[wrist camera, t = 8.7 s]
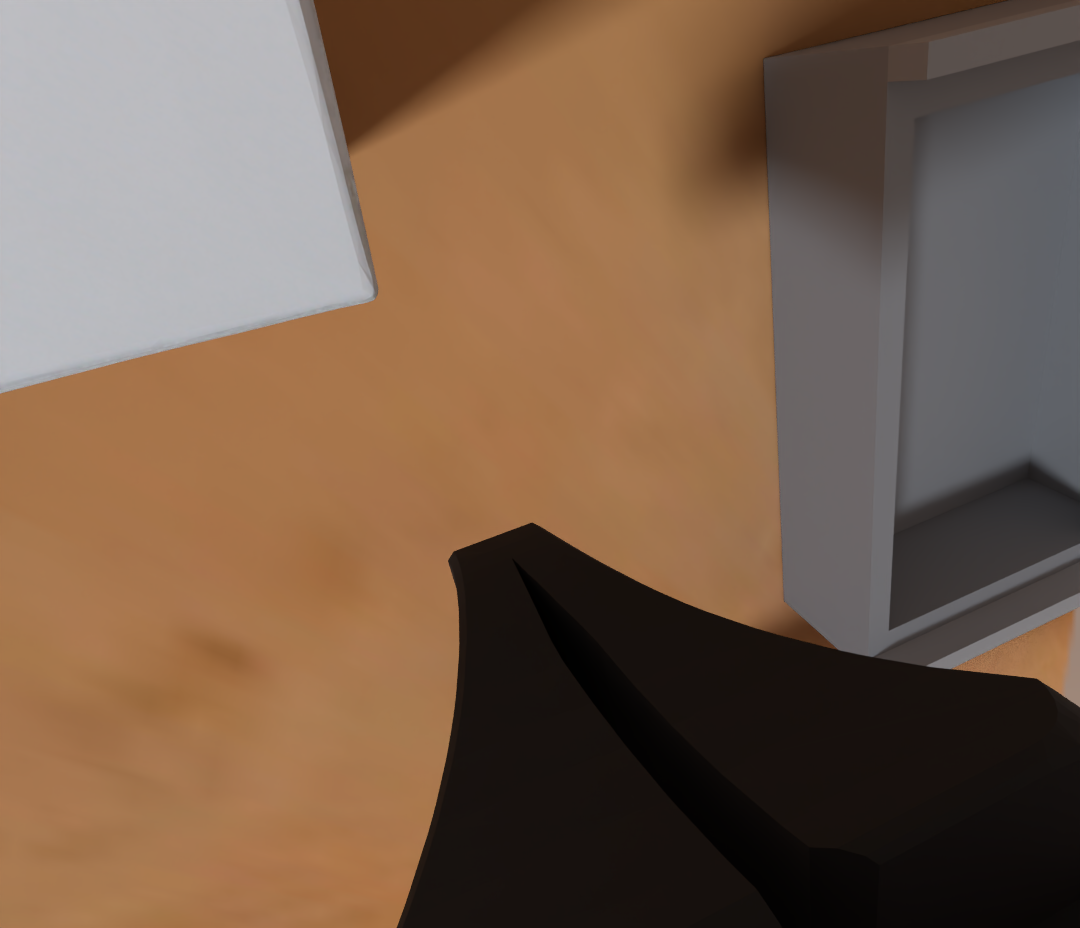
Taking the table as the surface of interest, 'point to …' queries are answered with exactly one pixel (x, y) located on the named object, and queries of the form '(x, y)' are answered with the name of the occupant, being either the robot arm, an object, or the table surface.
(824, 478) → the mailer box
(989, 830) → the robot arm
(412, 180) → the table surface
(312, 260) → the skincare box
